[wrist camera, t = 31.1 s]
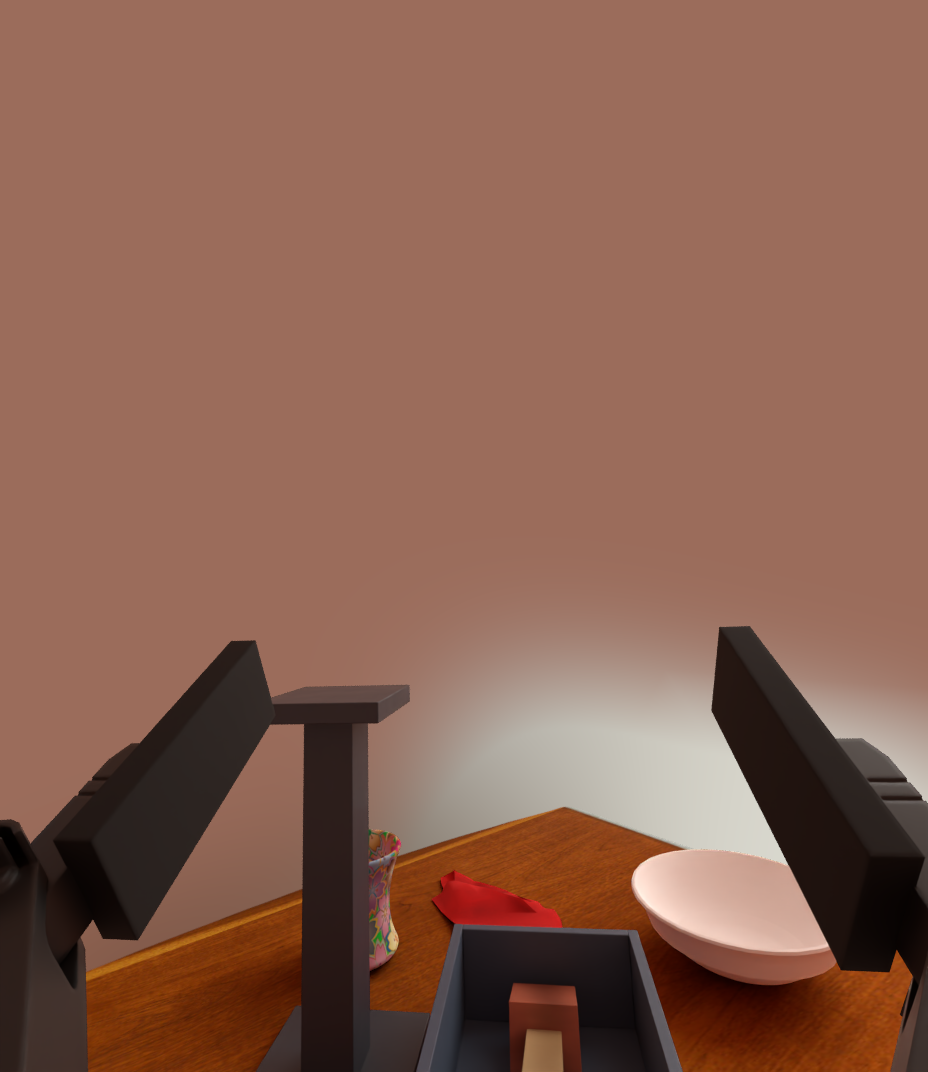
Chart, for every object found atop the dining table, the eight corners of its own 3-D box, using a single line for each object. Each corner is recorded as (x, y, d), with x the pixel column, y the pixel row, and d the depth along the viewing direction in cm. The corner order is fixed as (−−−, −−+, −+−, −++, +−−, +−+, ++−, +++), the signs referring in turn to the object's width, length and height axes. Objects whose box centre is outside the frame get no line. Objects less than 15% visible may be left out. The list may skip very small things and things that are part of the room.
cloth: (607, 1000, 48) (605, 972, 48) (455, 1024, 46) (454, 994, 46) (528, 869, 73) (527, 851, 74) (428, 880, 71) (427, 862, 72)
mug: (312, 938, 59) (313, 835, 61) (396, 923, 61) (395, 824, 63) (308, 1014, 48) (309, 885, 49) (412, 993, 50) (410, 870, 51)
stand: (215, 1155, 35) (229, 706, 40) (295, 1020, 47) (299, 685, 51) (393, 1173, 34) (387, 704, 38) (430, 1028, 46) (422, 683, 50)
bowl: (640, 896, 65) (635, 840, 66) (830, 922, 59) (822, 860, 60) (630, 1009, 47) (624, 929, 48) (906, 1066, 40) (892, 971, 41)
